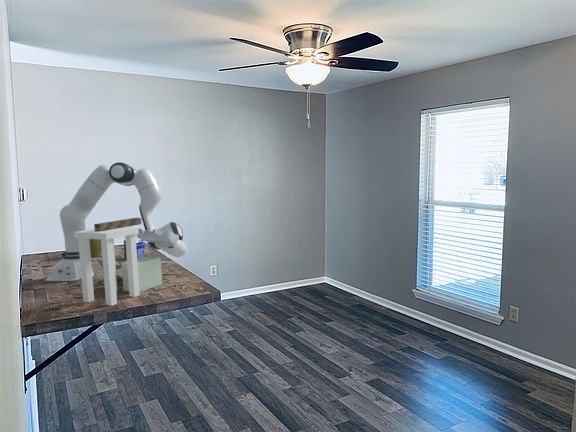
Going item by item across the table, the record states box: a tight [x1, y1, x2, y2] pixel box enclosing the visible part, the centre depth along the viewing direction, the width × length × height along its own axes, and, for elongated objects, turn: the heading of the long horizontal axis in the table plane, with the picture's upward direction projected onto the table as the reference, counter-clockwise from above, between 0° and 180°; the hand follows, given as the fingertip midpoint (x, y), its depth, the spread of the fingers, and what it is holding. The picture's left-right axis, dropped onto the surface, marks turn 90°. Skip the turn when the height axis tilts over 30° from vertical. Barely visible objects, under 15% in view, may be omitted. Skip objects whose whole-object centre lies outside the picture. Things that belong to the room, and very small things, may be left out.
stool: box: [74, 226, 141, 307], centre depth 188 cm, size 18×18×30 cm
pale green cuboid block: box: [120, 256, 163, 293], centre depth 206 cm, size 16×9×13 cm, turn 156°
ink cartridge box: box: [136, 239, 150, 259], centre depth 259 cm, size 10×6×14 cm, turn 158°
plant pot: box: [89, 239, 102, 258], centre depth 290 cm, size 15×15×16 cm
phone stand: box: [123, 240, 127, 261], centre depth 278 cm, size 9×6×12 cm, turn 29°
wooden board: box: [93, 217, 142, 232], centre depth 193 cm, size 24×3×3 cm, turn 156°
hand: (146, 230), depth 208 cm, fingers open, 8 cm apart
